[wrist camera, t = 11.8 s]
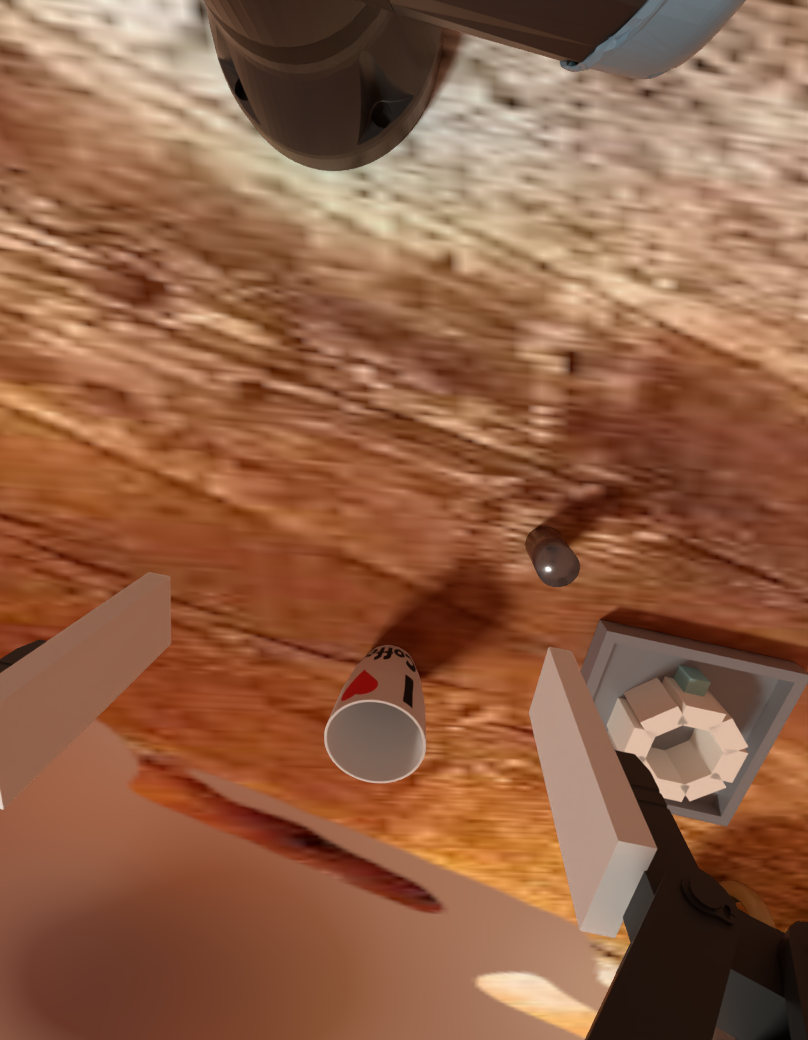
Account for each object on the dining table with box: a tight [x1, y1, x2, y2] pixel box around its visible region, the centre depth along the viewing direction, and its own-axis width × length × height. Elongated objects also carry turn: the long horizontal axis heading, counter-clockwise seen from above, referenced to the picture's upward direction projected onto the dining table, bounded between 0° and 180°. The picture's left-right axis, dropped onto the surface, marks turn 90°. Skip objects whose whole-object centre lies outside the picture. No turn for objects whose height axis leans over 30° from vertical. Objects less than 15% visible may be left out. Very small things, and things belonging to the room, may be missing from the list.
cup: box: [324, 645, 426, 783], centre depth 41 cm, size 8×8×10 cm
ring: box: [607, 665, 748, 802], centre depth 42 cm, size 10×12×4 cm
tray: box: [581, 620, 808, 826], centre depth 44 cm, size 18×18×2 cm
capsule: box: [525, 527, 580, 587], centre depth 38 cm, size 3×3×6 cm
